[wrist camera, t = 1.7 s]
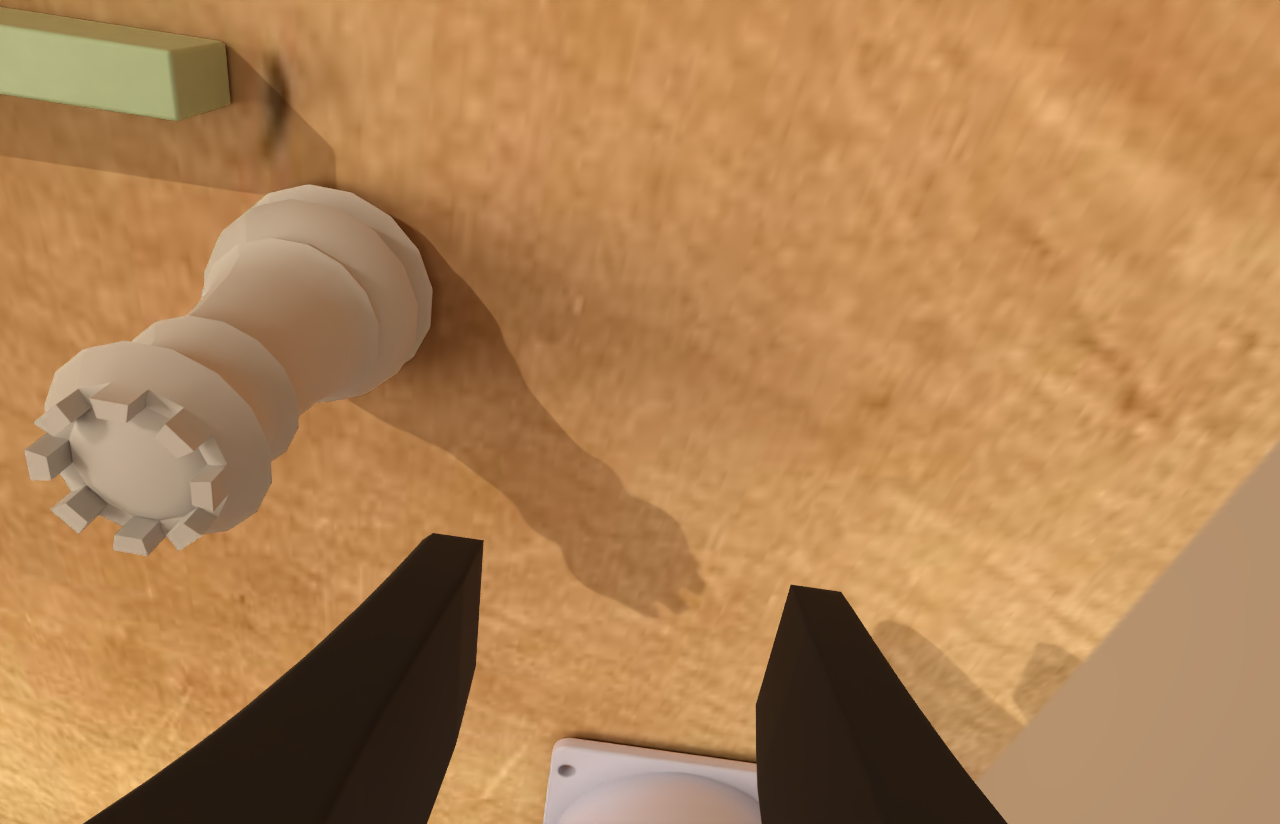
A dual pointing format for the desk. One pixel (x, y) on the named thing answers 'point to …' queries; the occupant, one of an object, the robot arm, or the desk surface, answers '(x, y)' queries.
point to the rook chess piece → (234, 370)
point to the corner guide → (110, 66)
